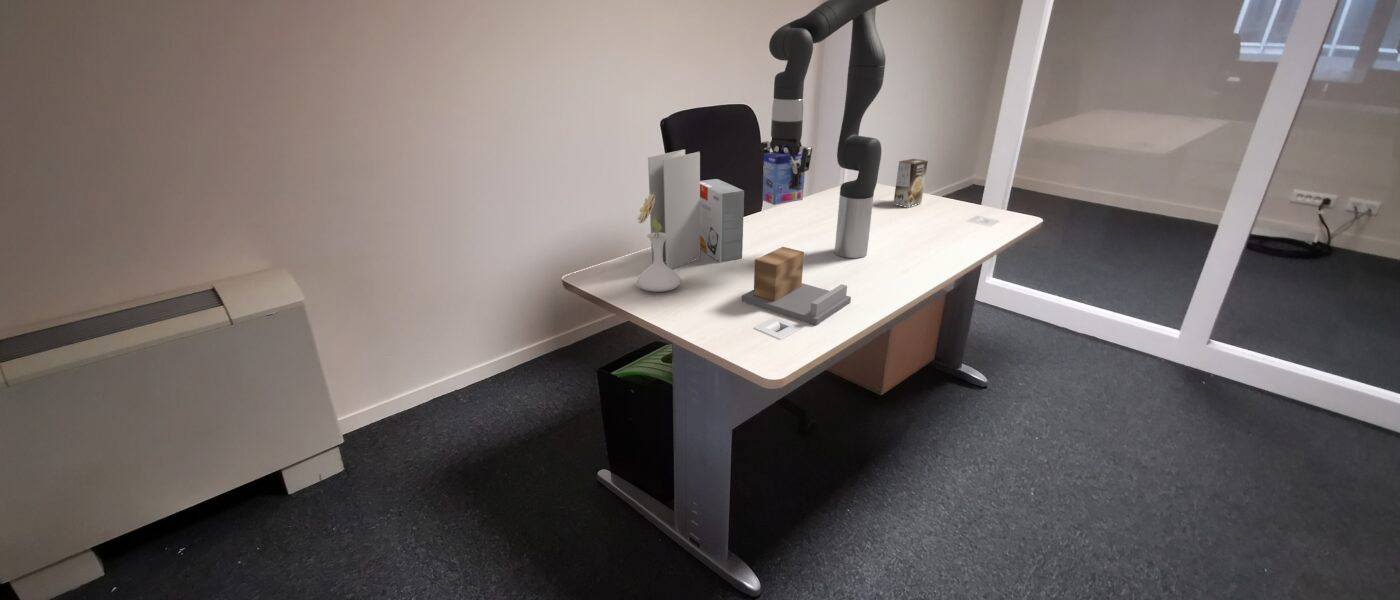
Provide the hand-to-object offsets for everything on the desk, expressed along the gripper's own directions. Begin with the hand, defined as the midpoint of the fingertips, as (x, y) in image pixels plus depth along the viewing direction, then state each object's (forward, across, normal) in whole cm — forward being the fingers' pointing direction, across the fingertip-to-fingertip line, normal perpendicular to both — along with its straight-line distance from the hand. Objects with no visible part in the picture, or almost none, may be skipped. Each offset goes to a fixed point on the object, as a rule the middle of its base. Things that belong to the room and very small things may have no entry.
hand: (783, 185), depth 158 cm
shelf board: (+24, -14, +14) cm, 31 cm away
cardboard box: (+22, -9, +14) cm, 27 cm away
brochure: (+24, +26, +12) cm, 37 cm away
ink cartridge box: (+4, 0, 0) cm, 4 cm away
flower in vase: (+24, +17, +29) cm, 41 cm away
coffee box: (+24, +2, -88) cm, 91 cm away
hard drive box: (+24, +22, -2) cm, 33 cm away
